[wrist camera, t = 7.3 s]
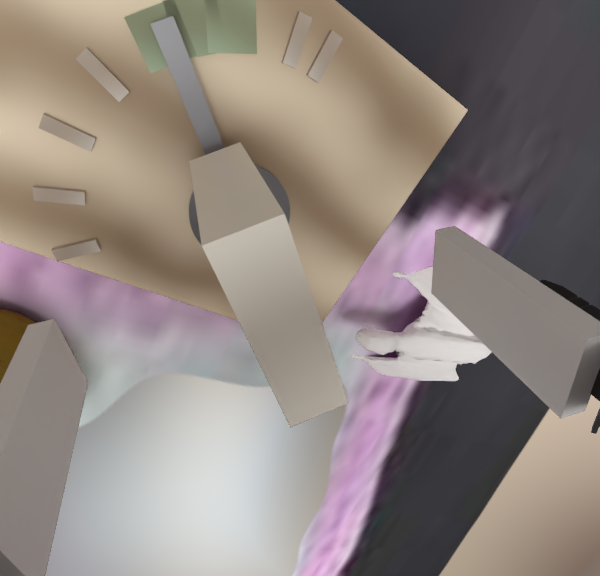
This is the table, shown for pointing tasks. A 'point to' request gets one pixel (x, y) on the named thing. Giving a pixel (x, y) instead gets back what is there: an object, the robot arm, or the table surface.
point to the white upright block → (254, 254)
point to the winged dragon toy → (423, 340)
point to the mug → (10, 336)
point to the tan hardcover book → (184, 141)
